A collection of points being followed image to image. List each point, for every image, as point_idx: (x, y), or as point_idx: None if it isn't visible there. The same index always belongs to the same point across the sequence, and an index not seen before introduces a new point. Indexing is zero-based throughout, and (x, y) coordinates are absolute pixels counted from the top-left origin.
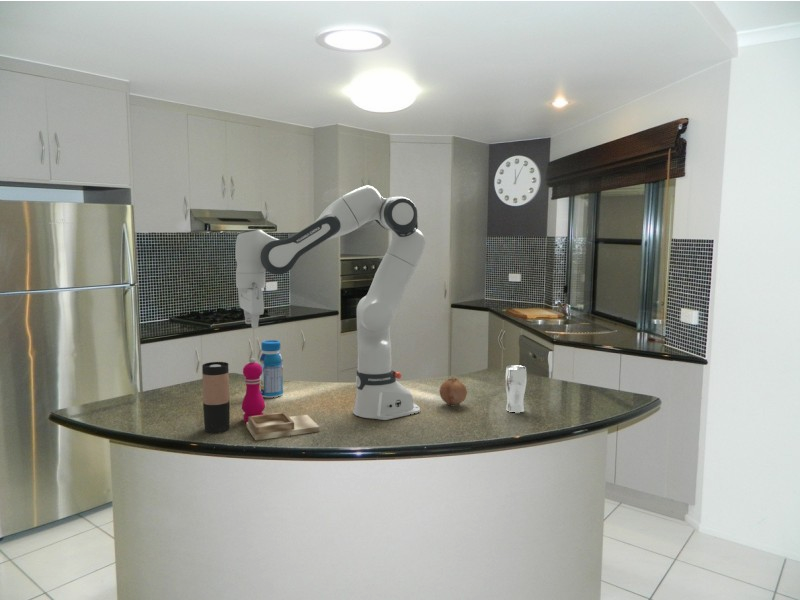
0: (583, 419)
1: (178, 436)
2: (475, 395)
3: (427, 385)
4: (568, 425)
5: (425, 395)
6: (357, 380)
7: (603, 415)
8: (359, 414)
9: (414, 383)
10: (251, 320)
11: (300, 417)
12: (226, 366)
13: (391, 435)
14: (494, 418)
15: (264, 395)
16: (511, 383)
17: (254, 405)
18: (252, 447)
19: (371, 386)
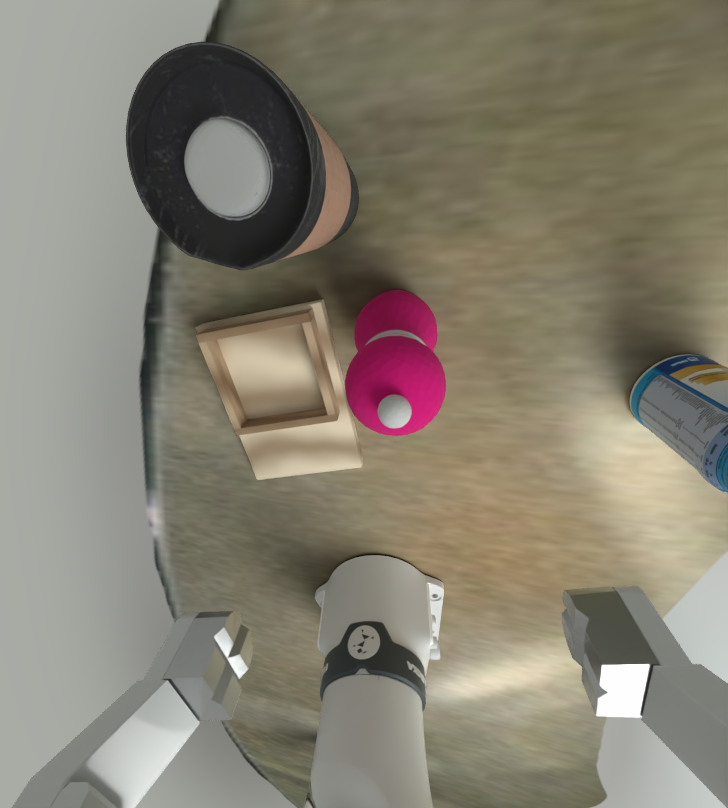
0: (275, 772)
1: (257, 37)
2: (438, 735)
3: (549, 707)
4: (252, 753)
5: (472, 685)
6: (364, 644)
7: (289, 790)
8: (349, 564)
9: (580, 697)
10: (583, 676)
11: (339, 450)
12: (245, 254)
13: (224, 579)
14: (298, 711)
15: (653, 368)
16: (309, 804)
17: (355, 341)
18: (151, 314)
19: (330, 650)
